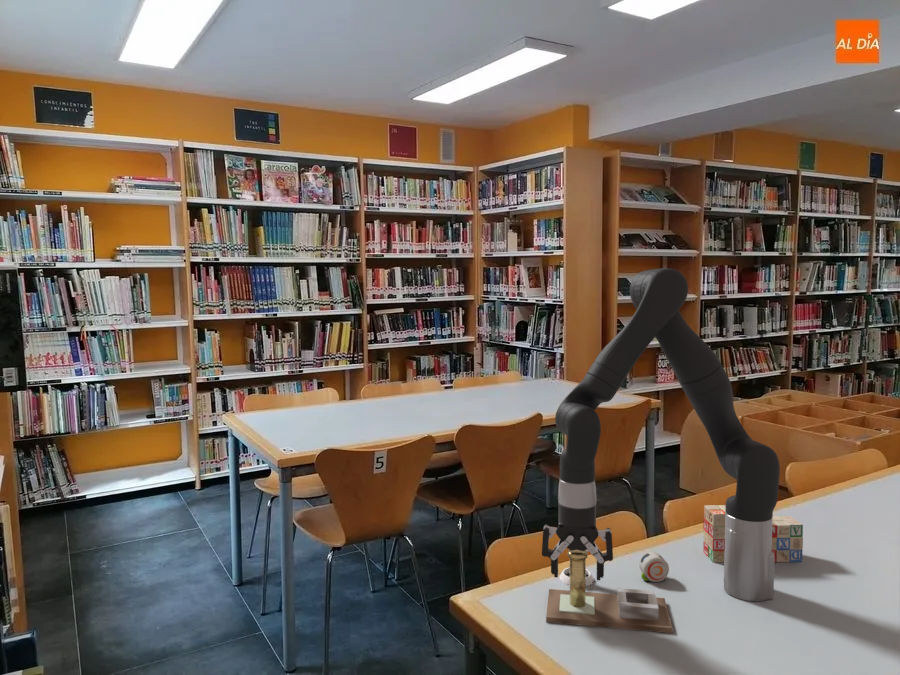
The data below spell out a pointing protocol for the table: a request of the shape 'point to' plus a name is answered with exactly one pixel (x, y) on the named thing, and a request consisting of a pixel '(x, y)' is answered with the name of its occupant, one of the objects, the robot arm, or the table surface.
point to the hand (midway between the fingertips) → (577, 577)
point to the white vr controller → (566, 579)
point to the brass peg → (577, 577)
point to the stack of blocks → (783, 536)
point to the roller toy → (653, 567)
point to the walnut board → (616, 611)
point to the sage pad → (569, 608)
